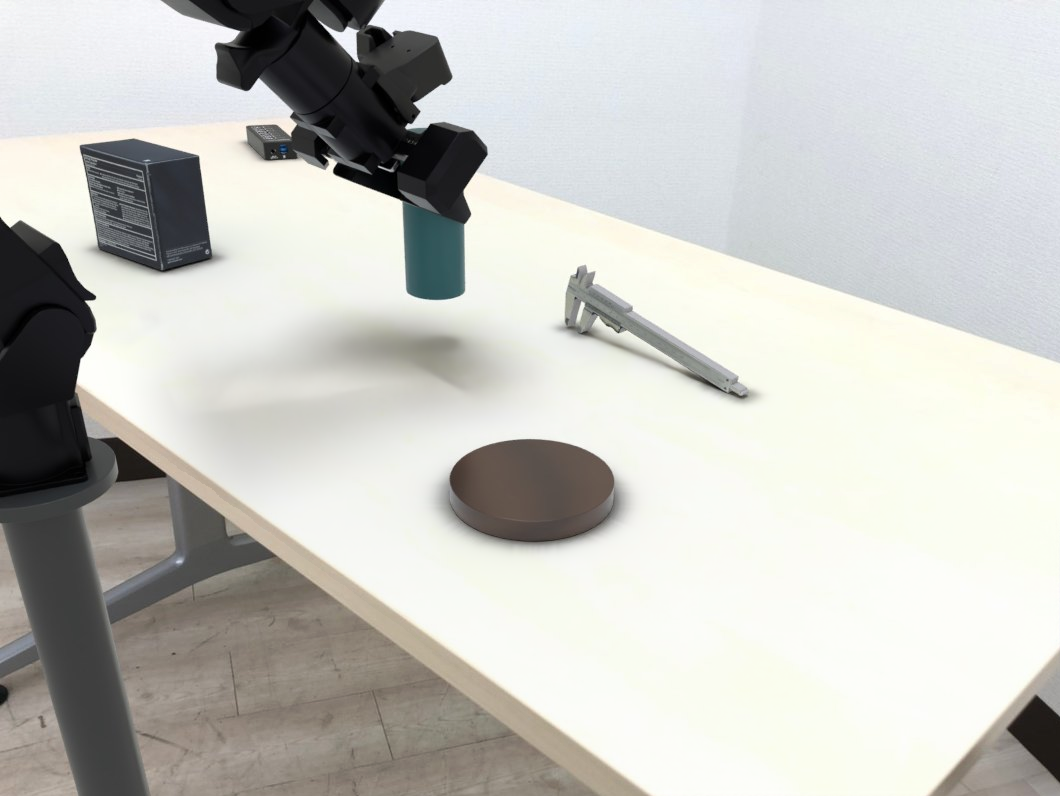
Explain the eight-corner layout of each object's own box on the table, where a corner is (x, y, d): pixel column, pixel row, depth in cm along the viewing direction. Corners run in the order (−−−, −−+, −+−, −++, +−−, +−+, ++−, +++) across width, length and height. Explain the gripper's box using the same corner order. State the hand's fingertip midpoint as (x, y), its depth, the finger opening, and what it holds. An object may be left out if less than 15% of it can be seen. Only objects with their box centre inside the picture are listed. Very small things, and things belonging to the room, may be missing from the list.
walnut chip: (488, 557, 64) (488, 536, 63) (426, 474, 72) (425, 456, 71) (643, 518, 69) (644, 499, 68) (568, 445, 77) (569, 427, 76)
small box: (218, 257, 107) (203, 153, 102) (162, 272, 102) (144, 164, 97) (151, 235, 112) (134, 134, 106) (95, 249, 107) (75, 144, 102)
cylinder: (410, 301, 87) (404, 141, 80) (402, 281, 91) (395, 127, 84) (470, 298, 88) (468, 141, 82) (459, 278, 92) (456, 127, 86)
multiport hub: (278, 140, 152) (276, 124, 151) (298, 158, 144) (296, 141, 143) (246, 141, 150) (245, 125, 148) (265, 160, 142) (263, 142, 141)
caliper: (563, 328, 97) (565, 262, 94) (571, 325, 98) (574, 260, 95) (741, 399, 86) (750, 328, 83) (749, 395, 87) (758, 325, 84)
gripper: (465, 10, 70) (576, 157, 83) (311, -22, 81) (431, 113, 93) (373, 143, 69) (500, 272, 82) (229, 93, 79) (361, 214, 92)
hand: (447, 211), depth 87 cm, fingers closed on cylinder, 5 cm apart
